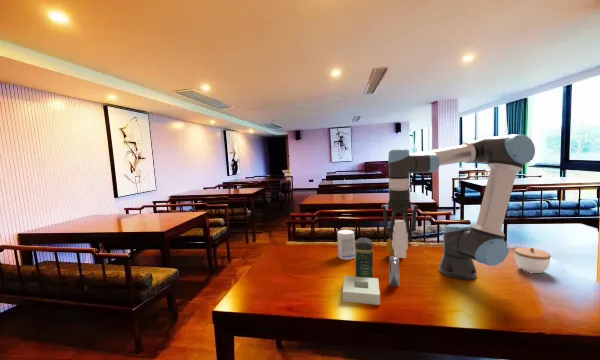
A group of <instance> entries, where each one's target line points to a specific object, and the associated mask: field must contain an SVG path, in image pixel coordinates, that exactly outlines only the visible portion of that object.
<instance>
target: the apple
mask: <svg viewBox="0 0 600 360" xmlns="http://www.w3.org/2000/svg"><path fill="white" fill-rule="evenodd" d="M386 250H387V253H388V254H389V255H390V256H395V255H394V249H393V247H392V240H390V238H388V239H387V242H386Z"/></svg>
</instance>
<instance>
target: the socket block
mask: <svg viewBox="0 0 600 360" xmlns="http://www.w3.org/2000/svg"><path fill="white" fill-rule="evenodd" d="M379 283H380V282H379V278H378V277H377V278H376V277H373V278H366V277H356V276H352V275H351V276H350V275H345V276H344V281H343V286H342V302H343V303H346V302H347V303H357V304H366V305H374V306H375V305H376V306H380V305H381V292H380V291H381V290H380V284H379Z"/></svg>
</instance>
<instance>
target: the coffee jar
mask: <svg viewBox="0 0 600 360" xmlns="http://www.w3.org/2000/svg"><path fill="white" fill-rule="evenodd" d="M373 247H374V245H373V241H372V240H371V239H370V238H369V237H359V238H358V239H356V240H355V258H354V259H355V277H366V278H374V248H373Z"/></svg>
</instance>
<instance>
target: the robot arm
mask: <svg viewBox="0 0 600 360" xmlns="http://www.w3.org/2000/svg"><path fill="white" fill-rule="evenodd" d="M535 155H536V147H535V144H534V142H533V141H532V139H531V138H530V137H529V136H527V135H525V134H522V133H521V134H520V133H519V134H513V133H511V134H507V135H506V134H505V135H497V136H489V137H484V138H479V139H476V140H472V141H467V142H464V143H462V144H461V145H455V146H450V147H444V148H438V149H431V150H424V151H418V152H412V153H410V150H409V149H407V148H405V149H404V148H402V149H401V148H400V149H391V150H389V152H388V161H387V164H388V189H389V190H388V202H387V203H385V204H381V209H382V211H383V227H384V230H385V231H386V232H388V233H389V234H388V236H389V238H390V240H392V247H393V249H395V232H394V223H395V220H396V217H397V214H402V215H403V220H404V221H405V222H406V250H409V241H411V240H412V234H411V233H412V232H415V231H416V230H417V211H418V209H419V206H418V205H416V204H413V203H412V202H411V194H410V192H411V191H410V187H411V185H410V174H421V173H422V174H424V173H426V174H427V173H429V174H430V173H435V172H437V171H438V169H440V166H441V167H442V166H447V165H453V164H459V163H465V164H473V163H476V164H478V163H481V164H482V163H483V164H487V167H489V169H490V171H489V174H488V178H487V180H486V181H487V182H486V185H485V190H484V194H483V198H482V201H481V205H480V208H479V213H478V217H477V220H476V223H475V224H473V225H472V224H471V225H470V224H463V223H462V224H461V223H455V224H454V223H452V224H451V223H450V224H446V225H445V226H444V228H443V255H442V258H441V260H440V263H439V266H438V267H439V272H440V273H441V274H442V275H444V276H446V277H449V278H452V279H456V280H473V279H476V278H477V277H478V271H477V268H476V265H475V263H474V261H476V262H477V263H479V264H483V265H485V266H489V267H493V266H498V265H500V264H502V263H503V262H505V260H506V259H507V258H508V255H509V252H510V248H509V245H508V243H507V242H506V241H505V236H506V235H505V234H504V232H503V231H502V229H503V224H504V222H505V221H504V220H505V218H506V217H505V216H506V213H507V210H508V206H509V202H510V198H511V194H512V191H513V187H514V183H515V180H516V175H517V173H519V172H521V171H522V170H523V168H524V164H525V165H526V164H528V163H530V162H531V161H533V160H534V157H535ZM389 208H390V210H391V211H392V212H391V218H390V223H388V210H389ZM409 209H411V226H410V223H409V217H408V213H407V212H408V210H409ZM389 238H388V239H389Z"/></svg>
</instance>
